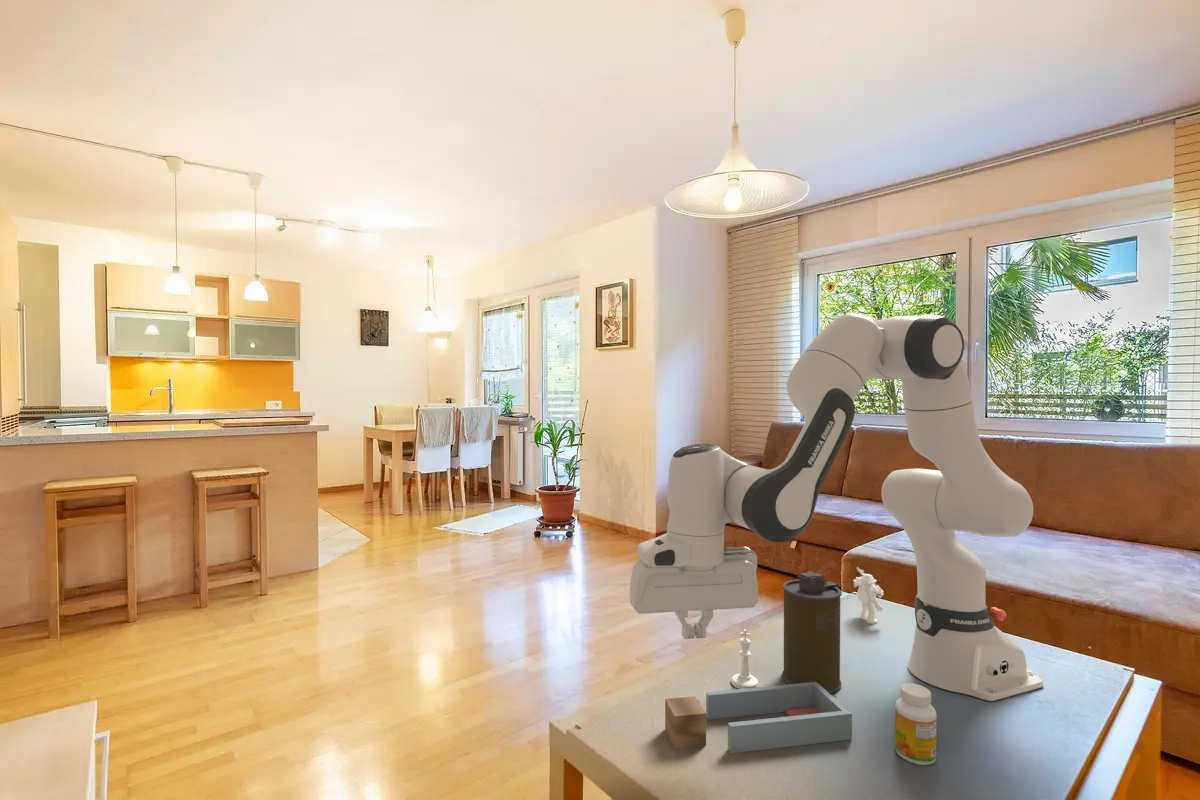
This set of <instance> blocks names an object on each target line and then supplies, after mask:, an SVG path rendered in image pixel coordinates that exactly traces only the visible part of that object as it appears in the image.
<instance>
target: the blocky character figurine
mask: <svg viewBox="0 0 1200 800" xmlns="http://www.w3.org/2000/svg"><path fill="white" fill-rule="evenodd" d="M856 571H857V572H858V573H860V575H861V576H859V577H858V576H856V577H855V579H853V580H852V582H853V587H854V588H857V587H858V589H857V594H858V595H857V597H858V601H861V603H862V606H861V607H862V610H861V612H860V616H859V619H861V620H863V621H866V623H868V624H873V625H875V624H878V621H879V620H878V619H876V618H875V617H876V610H877V612H882V611H883V606H882V605H881V604H880V603H879V601H878V599H877V597H878V598H879V599H880V598H882V597H883V596H884V595H885V593H884V590H883V589H882V588H881V587H880V585H878V584H876V582H877V581H878V580H877V579H875V578H874V577H873V575H872V574H869V573H864V572H865V570H863V569H861V568H859V566H857V567H856ZM875 609H876V610H875Z"/></svg>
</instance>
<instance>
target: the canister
mask: <svg viewBox="0 0 1200 800" xmlns="http://www.w3.org/2000/svg"><path fill="white" fill-rule="evenodd" d="M796 578H798V579H792V580H787V581H785V582H784V583H783V584H782V589H783V670H782V672H781V677H782V679H783V681H784V682H785V683H786V685H788V684H799V683H809V682H817V683H818V684H819V685H820V686H822V687H823V688H824V689H825V690H826V691H827V692H828V693H829V694H830V695H832V694H834V693H837V692H839V690H840V689H841V688H842V681H841V597H842V595H843V592H842V590H841V589H840V588H839V585H838V583H834V582H832V581H825V576H824V575H822V574H820V573H816V572H813V571H812V570H810V571H809V570H808V571H806V572H803V573H798V574H797V576H796Z"/></svg>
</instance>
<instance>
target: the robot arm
mask: <svg viewBox="0 0 1200 800" xmlns="http://www.w3.org/2000/svg"><path fill="white" fill-rule="evenodd" d="M964 340H965V339H964V336H963V333H962V331H961V330H960V328H959V326H958V325H957V324H956V322H954V321H953V320H952V319H951V318H949V317H945V316H942V315H936V314H923V315H900V316H891V317H888V318H881V319H876V320H872V319H871V318H869V317H867V316H865V315H862V314H858V313H845V314H842V315H839V316H837V317H836V318H834V320H832V321H831V322H830V323H829V324H828V325H827V326H825V327H824V329H823V330H821V331H820V333H819V334H818V335H817V336H816V337H815V338H814V339H813V340H812V342H811V343H810V344H809V345H808V346H807V348H806V349H805V350H804V352H803V353H802V355H800V357H799V358H798V360H797V361H796V363H795V364H794V366H793V368H791V371H790V373H789V375H788V378H787V381H786V391H787V396H788V398H789V400H790V402H791V405H793V407H795V409H797V411H799V413H801V414H802V416H804V417H805V422H804V424H803V427H802V429H801V430H800V432H799V433H798V436H797V438H796V440H795V441H794V442H793V443H794V444H793V445H792V447H791V448H790V450H789V452H788V454H787V456H786V458H785V460H784V461H783V462H782V463H781V464H779V465H778V466H776V467H774V468H770V469H768V468H763V467H759V466H756V465H752V464H750V463H749V464H748V463H746V462H744V461H742V460H739V459H737V458H735V457H734V456H731V455H730V454H728V453H726V452H725V451H724V450H722V448H721V447H720V446H719V445H717V444H714V443H701V444H700V443H699V444H696V443H695V444H691V445H687V446H682V447H681V448H679V449H678V450H676V451H675V452H674V453H673V454H672V455H671V459H670V463H669V468H668V476H667V477H668V478H667V493H666V494H667V495H666V502H667V505H668V510H669V511H668V512H669V516H668V520H667V524H666V533H663V534H662V535H659V536H657V537H654V538H651V539H648V540H644V541H643V542H641V543H638V545H637V549H636V550H637V551H636V552H637V553H636V554H637V555H638V557H639V559H638V560H637V561H636V562H635V563H634V565H633V568H632V571H631V577H630V584H629V603H630V606H631V607H632V608H633V610H634V611H636V613H637V614H642V615H643V614H659V613H675V616H676V617H677V619H678V621H679V623H680V624H681V635H682V637H683V639H684V640H689V639H695V638H696V639H706V638H707V627H708V626H709V624H710V622H711V621H712V619H713V618H714V610H716V611H717V610H730V609H733V610H734V609H748V608H749V609H751V608H755V606H756V605H757V604H758V602H759V587H758V585H759V584H758V577H757V573H756V572H757V569H758V556H757V553H756V552H755V551H754V550H752V549H750V548H749V547H747V546H739V547H733V546H725V525H726V524H727V523H735V524H736V525H738V526H741V527H743V528H746V529H749V530H751V531H752V532H754V533H755V534H757V535H759V536H760V537H762V538H764V539H766V540H767V541H771V542H772V543H773V542H774V543H785V542H789V541H792V540H794V539H796V538H797V537H799V536H800V535H801V534H802V533H804V531H805V530H806V529H807V528H808V526H809V525H810V523H811V521H812V519H813V516H814V513H815V509H816V505H817V502H818V498H819V495H820V493H821V489H822V487H823V484H824V482H825V480H826V478H827V477H828V474H829V472H830V470H831V469H832V466H833V464H834V462H835V461H836V458H837V457H838V454H839V452H840V451H841V449H842V446H843V444H844V442H845V440H846V438H847V436H848V434H849V431H850V430H851V427H852V424H853V422H854V418H855V413H856V407H855V401H856V399H857V397H858V395H859V393H860V392H861V390H862V388H864V386H865V384H866V383H867V381H868V379H869V378H872V379H879V380H891V381H892V380H895V381H897V380H900V381H901V389H902V390H901V391H902V402H903V409H904V415H905V422H906V428H907V429H906V430H907V435H908V441H909V444H910V446H911V447H912V449H913V450H914V451H915V452H916V453H918V454H919V455H920V456H923V457H924V458H926V459H927V460H929V461H930V462H932V463H933V464H934V466H935V467H936V468H937V469H938V470H937V469H927V468H917V467H916V468H904V469H896V470H894V471H891V472H890V473H889V474H888V475H887V477H886V478H885V479H884V481H883V483H882V486H881V500H882V503H883V506H884V507H885V509H886V510H887V512H888V513H889V514H890V515H891V516H892V517H893V518H894V519H896V521H897V522H898V523H899V524H900V525H901V527H902V528H903V529H904V531H905V533H906V535H907V537H908V538H909V541H910V543H911V546H912V548H913V553H914V556H915V560H916V561H915V562H916V575H917V576H916V578H917V593H916V595H915V598H914V615H915V616H914V617H915V623H916V625H915V631H914V637H913V644H912V648H911V652H910V656H909V660H908V662H907V669H908V670H909V672H910V673H911V674H912V675H913V676H914V677H916V678H918V679H920V680H921V681H923V682H925V683H927V684H928V685H931V686H934V687H937V688H940V689H941V690H946V691H950V692H955V693H959V694H965V695H969V696H972V697H975V698H978V699H981V700H985V701H988V702H989V701H990V702H995V701H998V700H1001V699H1005V698H1008V697H1011V696H1016V695H1019V694H1023V693H1027V692H1030V691H1034V690H1036V689H1040V688H1043V687H1044V684H1043V680H1042V679H1041V678H1040V676H1038V675H1037V674H1036V673H1035V672H1034V671H1032V670H1031V669H1028V668H1027V660H1026V655H1025V653H1024V650H1023V648H1022V647H1021V646H1020V645H1019V644H1018V643H1017V642H1015V641H1014V640H1013V639H1011V637H1009V636H1008V635H1006V633H1004V632H1003V631H1001V630H1000V629H999V628H998V627H997V626H995V623H994V621H993V619H996V620H997V621H1000V622H1003V621H1004V620H1005V619H1006V617H1007V614H1006V612H1005V610H1004V609H1000V608H998V607H996V606H993V607H989V606H988V605H987V604H986V584H987V583H986V582H987V581H986V574H987V572H986V569H985V566H984V564H983V562H982V560H981V559H980V558H979V557H978V556H977V555H976V554H974V553H973V552H972V551H970V550H969V549H967V548H966V547H965V546H964V545H963V544H962V543H961V541H960V540H959V538H958V536H957V535H956V532H955V531H957V532H961V533H967V534H971V535H977V536H984V537H994V538H995V537H997V538H998V537H999V538H1000V537H1013V538H1014V537H1017V536H1019V535H1021V534H1022V533H1023V532H1024V531H1026V529H1028V527H1029V526H1030V524H1031V522H1032V520H1033V517H1034V503H1033V501H1032V498H1031V495H1030V494H1029V492H1028V491H1027V489H1026V488H1025V487H1024V486H1023V485H1022V484H1020V482H1017V481H1016V480H1014V479H1013V478H1011V477H1009V476H1008V475H1007V474H1006V473H1005V472H1004V471H1002V470H1001V469H1000V468H999V467H998V466H997V464H996V463H995V461H993V460H992V458H991V457H990V456H989V454H988V452H987V451H986V449H985V448H984V446H983V443H982V440H981V437H980V433H979V430H978V427H977V421H976V415H975V409H974V403H973V402H974V401H973V395H972V389H971V384H970V380H969V376H968V373H967V369H966V367H965V364H964V362H963V355H964V351H965V341H964ZM696 611H697V612H698V611H699V612H701V614H702V615H701V616H700V619H699V620H698V622H694V623H693V625H692V623H688V622H687V621H686V619H685V618H689V612H696Z"/></svg>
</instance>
